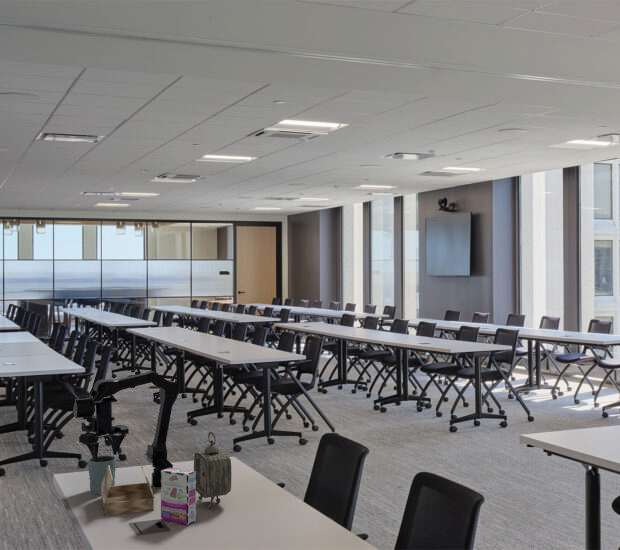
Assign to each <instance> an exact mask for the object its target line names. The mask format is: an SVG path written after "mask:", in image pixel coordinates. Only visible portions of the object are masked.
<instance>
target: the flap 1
mask: <svg viewBox="0 0 620 550" xmlns="http://www.w3.org/2000/svg"><path fill="white" fill-rule="evenodd" d="M112 482H113V477H112V473H111V469H110V465H108V467H107V470H106V473H105V476H104V478H103V481H102V484H101V493H102V494H101V500H102V499H103V502H102V504H103V503H105V501H106V498H107V496H108V493H109V490H110V487H111V485H112Z"/></svg>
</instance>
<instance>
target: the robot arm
mask: <svg viewBox="0 0 620 550" xmlns="http://www.w3.org/2000/svg"><path fill="white" fill-rule="evenodd" d="M147 384H152V385H153V386H155V387H156V388H158V390H159V391H158V392H159V394H158V397H159V403H160V405H159V410H158V411H159V412H158V416H157V422H156V428H155V434H154V439H153V442H152V443H151V444H147V446H146V447H147V449H146V453H145V456H146V459H147V462H148V463H149V464H151V467H152V469H153V470H152V471H153V472H151V485H152V486H153V488H154V489H156V488H157V489H158V488H159V489H160V488H161V471H162V470H164V469H167V468H174V464H172V463H171V462H170V461H169V460H168V449H167V448H168V447H167V438H168V433H169V426H170V422H171V417H172V416H171V415H172V410H173V406H174V404H175V402H176V401H177V399H178V396H179V393H180V389H181V388H180V386H179V384H178V383H176V382H175V381H172V380H170V379H166V378H164V377H162V376H161V375H160V374H158V373H157V372H155V371H152V370H149V371H147V372H143V373H138V374H134V375H130V376H126V377H122V378H117V379H116V378H113V379H111V378H110V379H109V378H108V379H107V378H104V379H98V380H97V381H96V382H95V383H94V385H93V389H92V390H91V392H90V394H89V395H88V397H87V398H75V399H74V404H73V409H72V410H73V411H72V412H73V417H74V419H82V418H89V417H92V416H93V415H94V414H95V417H94V418H93V419H92V422H89V421H83V422H81V430H82V432H83V433H81V434H80V435H79V436H78V442H79V443H81V444H82V445H85V446H86V447H87V448H88V450H89V452H90V455H91V458H92V457H93V460H94V461H96V460H97V456H99V446H100V442H99V439H102V438H104V437H108V436H110V439H111V440H112V442H111V443H112V453H113V456H116V455H117V454H118V451H119V449H120V446H121V445H122V443H123V441H124V439H125V437H127V435H129V427H128V425H124V424H117V425H116V424H115V425H113V421H115V419H116V418H115V416H113V405H112V403H115V402H118V399H116V398H115V396H114V395H115V394H117V393H119V392H120V391H123V390H126V389H131V388H135V387H139V386H142V385H147Z"/></svg>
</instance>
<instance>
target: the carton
mask: <svg viewBox="0 0 620 550" xmlns="http://www.w3.org/2000/svg"><path fill="white" fill-rule="evenodd" d="M101 501H102V507H103V514H104V516H113V515H114V516H115V515H124V514H133V513H143V512H153V511H155V507H154V506H155V498H153V496H152V493H151V491H150V488H149V486H148V483H147V482H142V483H141V482H140V483H129V484H128V483H127V484H119V485H118V484H117V485H115V486H111V487H110V490H109V493H108V496H107V498H106V501H105V503H103V499H102V498H101Z"/></svg>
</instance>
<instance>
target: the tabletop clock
mask: <svg viewBox="0 0 620 550" xmlns="http://www.w3.org/2000/svg"><path fill="white" fill-rule="evenodd" d="M207 435H208V436H207V438H208V443H209V445H207V446H206V447H205V448H204V451H198V452H197V451H196V452H194V456H193V458H194V459H193V471H196V493H197V494H198V495H199V496H198V497H197V499H198V500H199V501H203V498H204V499H207V498H210V502H209V504H208V509H209V510H212V509H213V507H214V505H213V501H214V499H215V502H216V503H217V504H219V503H221V498H219V497H221V496H226V495H227V494H229V493H230V492H231V491H232V462H231V458H230V456H228V455H227V454H226V453H223V452H222V451H220V450H219V447H218V446H217V445H215V444H216V442H217V439H216V434H215V433H214V432H213V431H209V433H208V434H207ZM210 435H212V437H213V439H210Z"/></svg>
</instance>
